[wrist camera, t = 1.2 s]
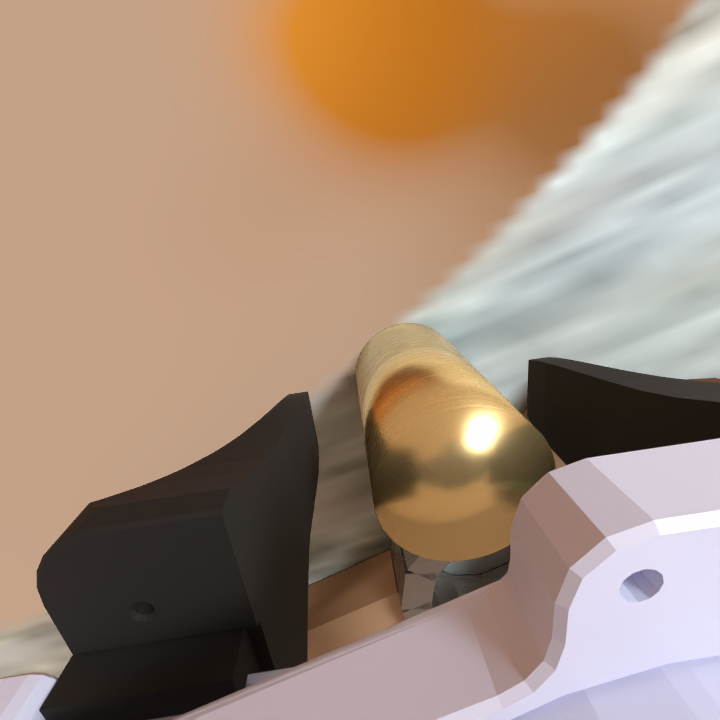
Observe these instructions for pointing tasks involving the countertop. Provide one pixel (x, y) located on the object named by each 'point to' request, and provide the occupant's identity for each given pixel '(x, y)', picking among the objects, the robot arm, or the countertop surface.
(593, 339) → the countertop surface
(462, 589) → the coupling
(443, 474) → the peg
